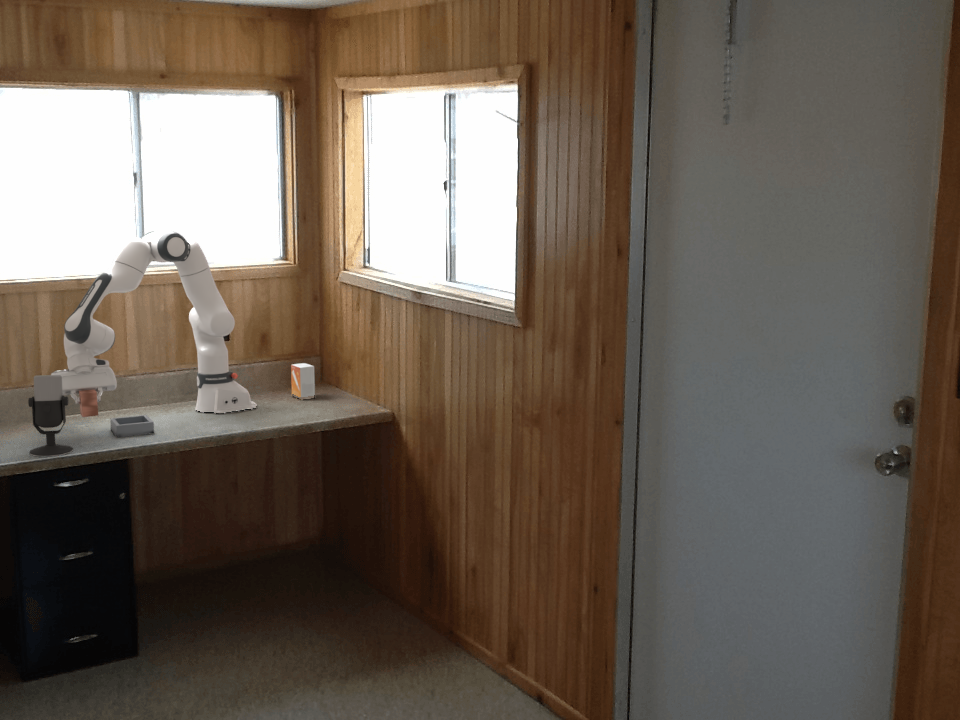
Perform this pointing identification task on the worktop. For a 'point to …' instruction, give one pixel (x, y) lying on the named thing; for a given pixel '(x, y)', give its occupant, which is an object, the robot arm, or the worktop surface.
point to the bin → (131, 425)
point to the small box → (303, 380)
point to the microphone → (48, 413)
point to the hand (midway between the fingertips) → (88, 402)
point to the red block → (88, 403)
